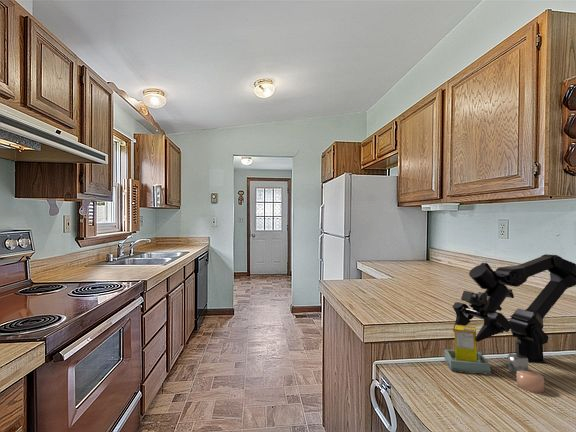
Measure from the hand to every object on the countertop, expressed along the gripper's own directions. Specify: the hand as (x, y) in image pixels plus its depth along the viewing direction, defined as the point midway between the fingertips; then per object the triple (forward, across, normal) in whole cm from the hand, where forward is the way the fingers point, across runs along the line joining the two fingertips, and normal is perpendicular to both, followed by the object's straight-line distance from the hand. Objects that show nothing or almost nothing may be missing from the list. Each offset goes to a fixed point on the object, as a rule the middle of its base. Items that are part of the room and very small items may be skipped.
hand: (464, 336), depth 106 cm
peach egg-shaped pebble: (+3, +17, +11) cm, 20 cm away
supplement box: (+6, 0, +6) cm, 8 cm away
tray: (+6, 0, +6) cm, 9 cm away
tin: (-2, +8, +15) cm, 17 cm away
